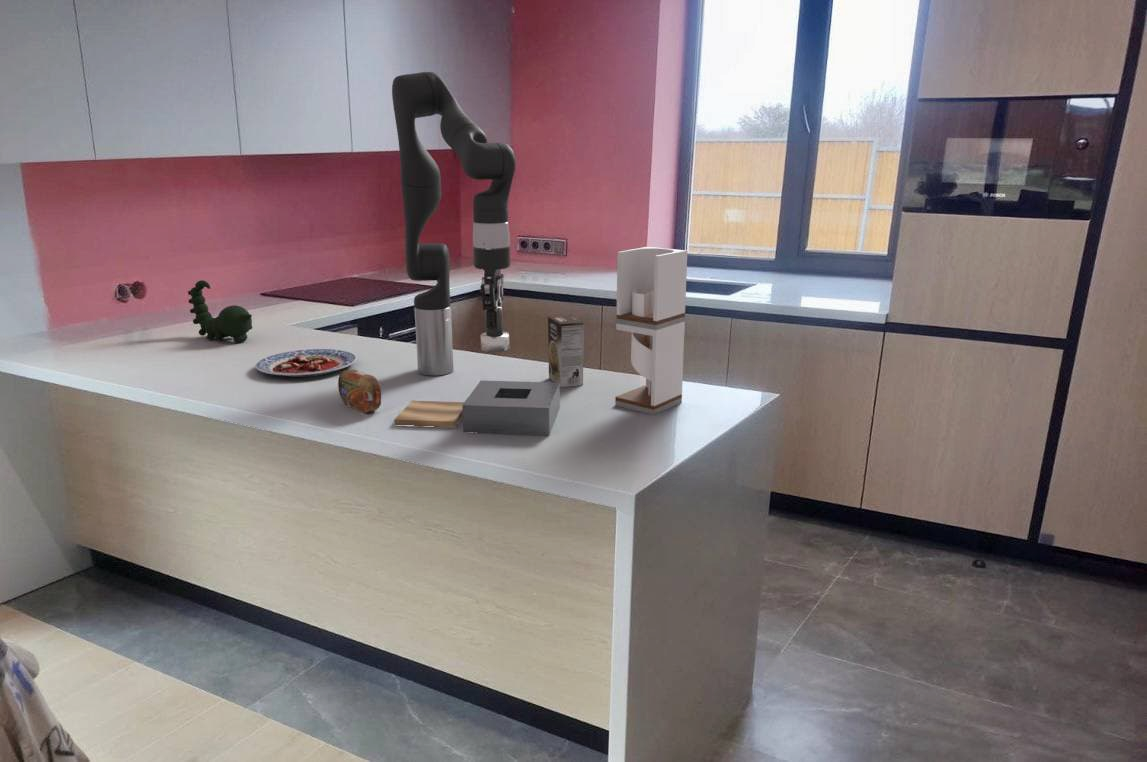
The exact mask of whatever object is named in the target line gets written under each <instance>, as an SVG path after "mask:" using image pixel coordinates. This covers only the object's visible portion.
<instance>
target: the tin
mask: <svg viewBox="0 0 1147 762" xmlns="http://www.w3.org/2000/svg"><path fill="white" fill-rule="evenodd" d="M337 382H338V383H337V387H338V393H339V396H340V399H341V401H342V403H343V404H344V405H345V404H347V405H349V406H351V407H350V408H352V407H353V408H352V409H354V408H356V409H355V410H357V409H358V410H357V411H359V410H360V411H359V412H361V411H363V412H362V413H364V412H365V414H366V413H370V412H375V411H377V410H378V409H379V408H380V406H381V404H382V389H381V385H380V383H379V381H378V379H377V378H376V377H375V376H374V375H371V374H369V373H366V372H363V371H359V370H357V369H347V370H346V369H344V370H342V371H340V374H339V376H338V381H337ZM347 405H346V406H347ZM349 406H348V407H349Z"/></svg>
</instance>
